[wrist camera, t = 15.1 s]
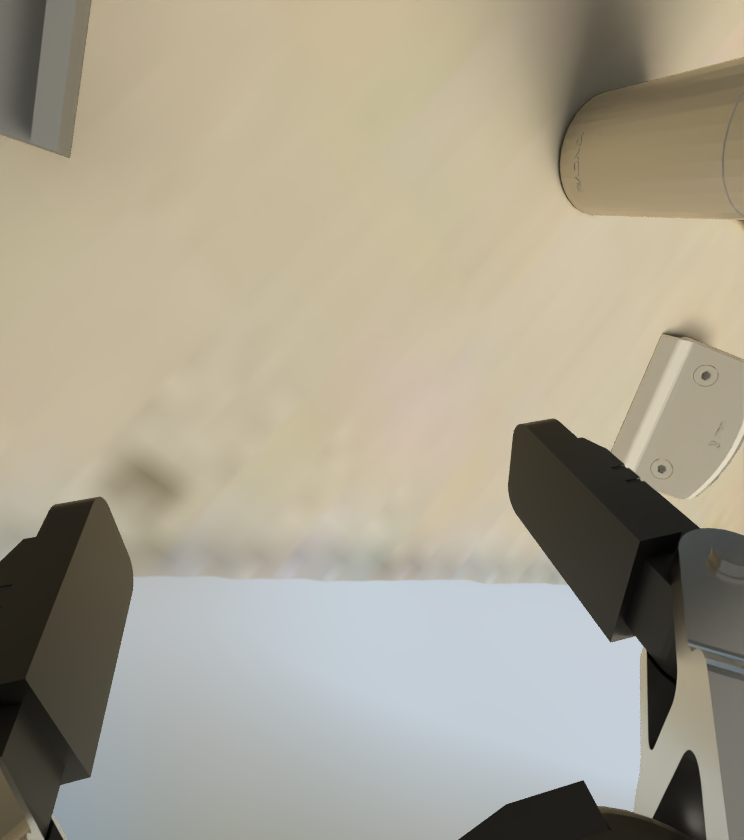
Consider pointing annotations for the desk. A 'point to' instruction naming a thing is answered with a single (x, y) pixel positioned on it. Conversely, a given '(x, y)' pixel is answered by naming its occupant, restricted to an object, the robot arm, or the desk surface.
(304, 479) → the desk surface
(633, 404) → the hinge
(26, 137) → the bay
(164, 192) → the desk surface
